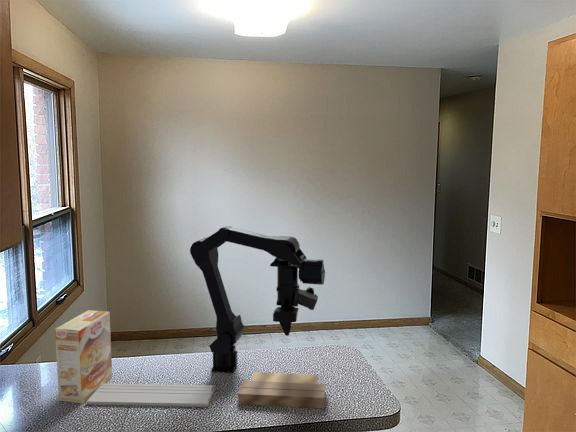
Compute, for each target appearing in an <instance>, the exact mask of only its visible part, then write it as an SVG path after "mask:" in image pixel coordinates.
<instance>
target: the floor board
mask: <svg viewBox="0 0 576 432" xmlns="http://www.w3.org/2000/svg"><path fill="white" fill-rule="evenodd" d="M237 394H238V395H237V397H238V398H237V402H238V403H237V404H238V405H247V404H249V406H250V405H252V404H253V406H269V407H270V406H271V407H287V406H288V407H289V408H292V407H293V408H308V409H309V408H310V409H325V407H326V384H324V383H323V384H322V383H318V384H307V383H286V382H264V381H251V380H242V382H241V385H240V388H239V390H238V393H237Z"/></svg>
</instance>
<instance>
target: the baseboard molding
mask: <svg viewBox="0 0 576 432" xmlns="http://www.w3.org/2000/svg"><path fill="white" fill-rule="evenodd" d="M214 381H215V384H214V385H211V384H210V385H209V384H165V383H163V384H162V383H161V384H159V383H156V384H155V383H154V384H153V383H149V384H148V383H108V382H106V383H104V384H101V385H100V387H99V388H98V389H97V390H96V391H95V392H94V394H92V396H90V397H89V398H88V399H87V400H86V401H85V402H86V405H88V406H89V405H90V406H93V405H95V406H96V405H97V406H98V405H99V406H137V407H138V406H141V407H144V406H145V407H147V406H148V407H188V408H189V407H190V408H191V407H193V408H195V407H197V408H206V407H207V408H209V406H210V403H211V400H212V398H213V395H214V393H215V390H216V387H217V380H214Z"/></svg>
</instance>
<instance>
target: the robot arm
mask: <svg viewBox="0 0 576 432" xmlns="http://www.w3.org/2000/svg"><path fill="white" fill-rule="evenodd" d="M225 243H232V244H235V245H241V246H244V247H248V248H252V249H256V250H261V251H263V252H266V253H268V254H269V255H270V256H272V257H274V260H273V261H272V262H271V263H270V264H269V266H270V267H277V269H276V271H277V275H276V276H277V277H276V278H277V283H276V285H277V286H276V292H277V295H276V299H277V300H276V306H277V307H276V308H275V309H274V310H273V312H272V322H277V323H279V325H280V327H281V329H282V331H283V333H284V335H285V336H290V333H291V328H292V323H296V322H297V318H298V314H299V313H298V312H299V305H300V306H302V307H305V308H306V309H308V310H310V311H314V310H315V307H316V305H317V302H318V299H319V298H318V297H319V296H318V295H317V294H315V290H314V288H313V287H311V286H309V287H307V288H306V289H300V285H299V283H298V282H299V280H300V282H302V284H305V285H307V284H308V285H319V286H320V285H321V286H323V285H324V283H325V280H326V279H325V278H326V270H325V264H324V259H308V258H307V256H306V255H305V253H304V252H303V250H302V249H301V248H300V247H301V245H300V243H299V241H298V239H297V238H296V237H293V236H290V235H286V236H285V235H266V234H262V233H257V232H253V231H249V230H245V229H240V228H236V227H232V226H231V225H225V226H222V227H221V228H219V229H218V230H217V231H215V233H213V234H211V235H209V236H208V237H203V238H201V239H198V240H196V241H194V242H193V243H192V244H191V246H190V248H189V252H190V256H191V258H192V260H193V262H194V264H195V265H196V267H198V268H199V270H201V272H202V275H203V278H204V281H205V284H206V286H207V287H206V288H207V291H208V295H209V297H210V301H211V304H212V307H213V310H214V312H215V313H214V314H215V316H216V324H215V331H216V338H215V339H214V341H212V342H211V343H210V345H209V349H210V352H211V353H212V367H211V369H210V370H211V372H219V373H221V372H222V373H223V372H224V373H233V372H234V370H235V369H236V368H237V366H238V363H239V362H238V351H237V350H236V345H235V344H236V343H237V342H238V341H239V340H240V339H241V337H242V336H243V334H244V328H245V325H244V324H243V322H242V321H243V320H242V317H241V314H238V315H235V313H234V312H233V310H232V308H231V305H230V302H229V299H228V294H227V291H226V289H225V285H224V283H223V279H222V275H221V272H220V270H219V249H218V248H219V247H221V246H222V245H224V244H225Z"/></svg>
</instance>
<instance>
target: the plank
mask: <svg viewBox="0 0 576 432" xmlns="http://www.w3.org/2000/svg"><path fill="white" fill-rule="evenodd" d="M250 381H264V382H286V383H307V384H319V374H310V373H309V374H307V373H306V374H303V373H285V372H284V373H282V372H281V373H280V372H260V371H258V372H256V371H255V372H253V375H252V378H251V380H250Z"/></svg>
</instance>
